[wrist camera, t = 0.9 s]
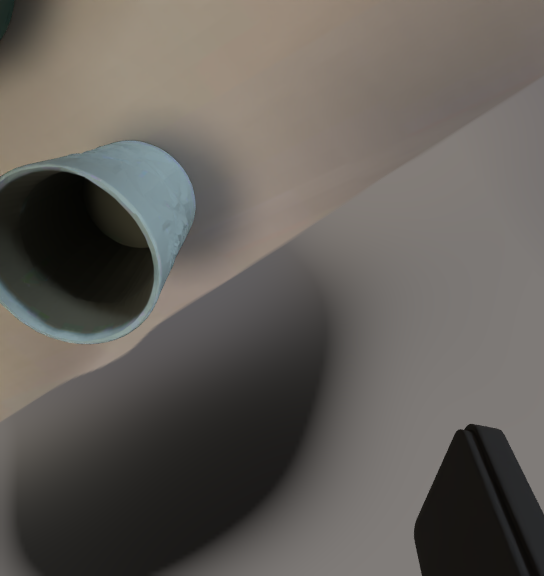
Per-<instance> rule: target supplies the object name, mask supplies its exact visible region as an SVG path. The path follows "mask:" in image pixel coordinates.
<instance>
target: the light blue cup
mask: <svg viewBox="0 0 544 576" xmlns="http://www.w3.org/2000/svg"><path fill="white" fill-rule="evenodd" d="M195 209H196V206H195V195H194V191H193V187H192V184H191V182H190V180H189V177H188V176H187V174H186V172H185V171H184V169H183V168H182V167H181V166H180V164H179V163H178V162H177V161H176V160H175V159H174V158H173V157H172V156H170V155H169V154H168V153H166V152H165V151H163V150H162V149H160V148H158V147H156V146H153V145H151V144H148V143H145V142H140V141H120V142H115V143H111V144H108V145H104V146H102V147H98V148H96V149H94V150H91V151H86V152H84V153H82V154H71V155H68V156H64V157H60V158H56V159H51V160H46V161H42V162H37V163H32V164H28V165H24V166H21V167H18V168H15V169H13V170H11V171H9V172H7V173H5V174H4V175H2V176H1V177H0V303H1V304H2V305H3V306H4V307H5V308H6V309H7V310H8V311H9V312H11V313H12V314H13V315H14V316H15V317H16V318H17V319H18V320H19V321H21V322H22V323H24V324H26V325H27V326H29V327H30V328H32V329H34V330H35V331H37V332H39V333H41V334H44V335H46V336H48V337H51V338H54V339H57V340H61V341H64V342H69V343H76V344H98V343H104V342H109V341H112V340H116V339H118V338H121V337H123V336H125V335H127V334H129V333H130V332H132V331H133V330H134V329H136V328H137V327H139V326H140V325H141V324H142V323H143V322H144V321H145V320H146V319H147V317H148V316H149V314H150V313H151V311H152V310H153V308H154V306H155V304H156V302H157V300H158V297H159V295H160V292H161V290H162V288H163V286H164V283H165V281H166V279H167V277H168V275H169V273H170V270H171V269H172V267H173V264H174V261H175V258H176V256H177V254H178V252H179V249H180V248H181V246H182V245H183V243H184V241H185V238H186V236H187V235H188V233H189V230H190V228H191V226H192V224H193V221H194V216H195Z"/></svg>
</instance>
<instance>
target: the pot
mask: <svg viewBox="0 0 544 576" xmlns="http://www.w3.org/2000/svg"><path fill="white" fill-rule="evenodd" d="M13 8H14V0H0V40H1V39H2V37H3V35H4V33H5V32H6V30H7V28H8V25H9V22H10V20H11V17H12V12H13Z"/></svg>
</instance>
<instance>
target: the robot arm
mask: <svg viewBox="0 0 544 576" xmlns="http://www.w3.org/2000/svg"><path fill="white" fill-rule="evenodd" d="M414 539H415V545H416V549H417V554H418V559H419V563H420V568H421V573H422V576H544V514H543V512H542V510H541V508H540V506H539V504H538V502H537V500H536V498H535V496H534V494H533V492H532V490H531V488H530V486H529V484H528V482H527V480H526V478H525V475H524V474H523V472H522V470H521V467H520V466H519V464H518V462H517V460H516V458H515V455H514V453H513V451H512V449H511V447H510V445H509V443H508V441H507V439H506V437H505V435H504V434H503V432H502V431H501V430H499V429H496V428H490V427H485V426H480V425H474V424H469V425H468V426H467V427H466V428H465V430H461V429H460V430H458V431H456V433H455V435H454V437H453V440H452V442H451V444H450V446H449V448H448V451H447V453H446V455H445V457H444V459H443V462H442V464H441V466H440V469H439V471H438V473H437V475H436V477H435V480H434V482H433V484H432V486H431V489H430V491H429V493H428V495H427V498H426V500H425V502H424V504H423V506H422V509H421V511H420V513H419V515H418V518H417V520H416V523H415V528H414Z"/></svg>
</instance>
